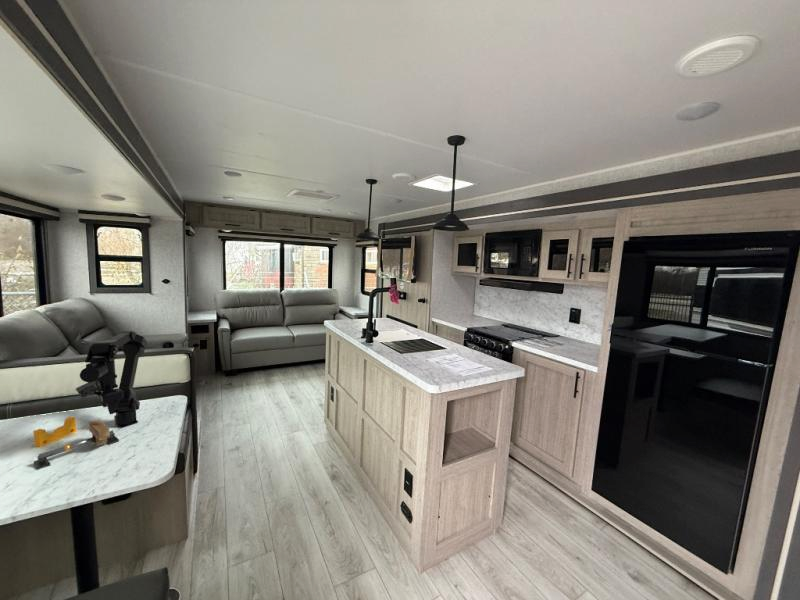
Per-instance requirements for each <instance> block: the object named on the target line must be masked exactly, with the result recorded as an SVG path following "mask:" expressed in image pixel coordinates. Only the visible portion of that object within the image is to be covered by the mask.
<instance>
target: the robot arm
mask: <svg viewBox="0 0 800 600" xmlns="http://www.w3.org/2000/svg"><path fill="white" fill-rule="evenodd" d="M147 346H148V341H147V340H146V338H145V337H144V336H143V335H140V334H137V333H136V331H134V330H128V331H127V330H123V331H120V332H119V333H118V334H116V335H115V336H113V337H112V336H111V338H108V339H107V340H102V341H101V340H99V341H95V342H93V343H92V344H91V345H90V347H89V349H88V352H87V355H86V359H85V360H84V361H85V368H83V369H82V370H81V371H80V373H79V378H80V379H81V380H82V381H83V382H86V383H84V384H81V385H80V386H78V387H76V388H75V391H76V392H77V393H78V395H79V396H80V397H81V398H82V399H84V398H87V396H89V395H92V394H95V395H97V396H98V398H99V401H100V403H101V405H102V408H107V411H108V413H109V415H114V414H115V415H114V417H113V418H114V425H115V426H117V427H118V428H119V429H122V428H126V427H129V426H131V425H134V424H138V423H139V421H138V420H137V411H138V410H140V405H141V402H140V401H139V399H137V393H136V392H135V391H134V384H135V379H136V373H137V369H138V363H139V358H140V357H141V356H142V355H143V354H144V353H145V351H146V348H147ZM119 348H122V352H123V354H124V356H125V359H124V363H123V368H122V372H121V376H120V381H119V386H118V384H117V380H116V379H117V378H118V375H117V374H116V364H115V359H117V354H118V352H119Z"/></svg>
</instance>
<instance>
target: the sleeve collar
mask: <svg viewBox="0 0 800 600" xmlns="http://www.w3.org/2000/svg"><path fill="white" fill-rule="evenodd" d="M88 431H89V432H90V433H91V434H92V435H91V437H94V436H95V437H96V441H95V442H92V443H93V444H94V445H95V446H96V447H99V446H102V445H105V444H108V443H107V438H109V437H110V433H109V432H110V428H109V427H108V426H107V425H106V424H105V423H104V422H102V420H101V419H96V420H95V419H94V420H93V421H89V422H88Z"/></svg>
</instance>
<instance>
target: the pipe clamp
mask: <svg viewBox="0 0 800 600" xmlns="http://www.w3.org/2000/svg"><path fill="white" fill-rule="evenodd" d="M76 419H77V418H76V417H75V416H69V417H66V418H64V423H63V425H62V426H61V425H60V426H58V427H57V428H55V429H54V430H53V431H51V432H49V433H47V432H46V429H45V428H38V429H35V430H33V440H34V447H35V448H42V447H45V446H47V445H49V444H51V443H53V442H57V441H58V440H60V439H63V438H66V437H68V436H70V435H72V434H73V435H74V434H75V433H76V432H77V420H76Z"/></svg>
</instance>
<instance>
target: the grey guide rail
mask: <svg viewBox="0 0 800 600" xmlns="http://www.w3.org/2000/svg"><path fill="white" fill-rule="evenodd" d="M109 433H110V437H109V438H107V443H106V444H108V445H109V446H111V445H113V444H115V443H119V442H120V439H119V438H118V437H117V436H115V435H116V433H115V432H114V431H113V430H109ZM95 441H96V437H95V436H94V437H92V436H91V437H89V438H86V439H85V438H84V439H82V440H79V441H76V442H73V443H68V444H66V445H63V446H59V447H57V448H54V449H51V450H48V451H44V452H41V453H38V455H37V456H36V457H37V459H36V460H34V461H33V464H34V466H35V467H36V469H37V470H40V469H43V468H47V467H49V466H51V462H50V461H49V459H48V458H49V457H52V456H56V455H58V454H63V453H64V452H65V453H66V452H69V451H71V450H73V449H77V448H81V447H84V446H86V445H89V444H92V443H93V442H95Z"/></svg>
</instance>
